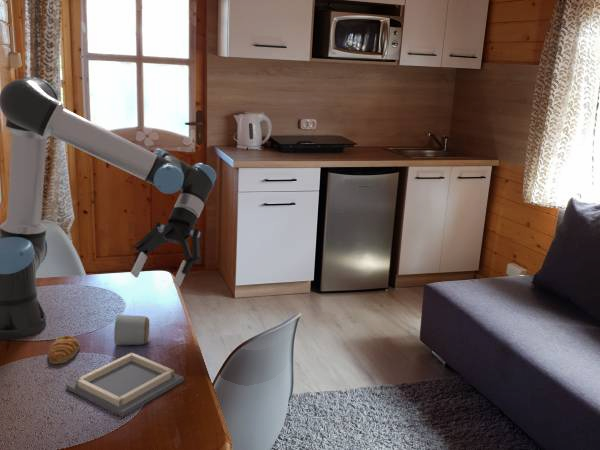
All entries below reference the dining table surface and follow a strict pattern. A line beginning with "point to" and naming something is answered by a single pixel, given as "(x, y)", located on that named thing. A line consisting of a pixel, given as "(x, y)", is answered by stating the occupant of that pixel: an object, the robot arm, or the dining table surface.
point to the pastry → (63, 349)
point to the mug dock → (125, 383)
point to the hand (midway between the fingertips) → (154, 279)
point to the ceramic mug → (131, 330)
